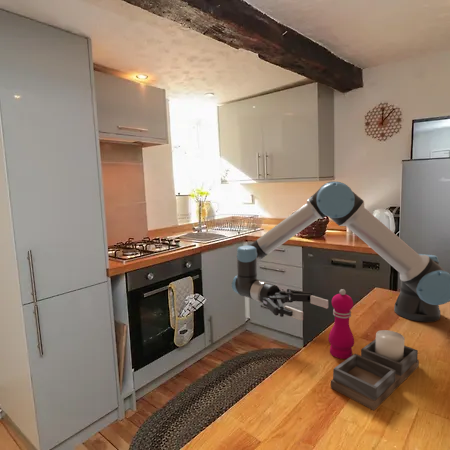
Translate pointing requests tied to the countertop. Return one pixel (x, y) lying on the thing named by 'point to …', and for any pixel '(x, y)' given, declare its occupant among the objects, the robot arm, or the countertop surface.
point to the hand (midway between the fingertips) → (315, 310)
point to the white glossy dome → (390, 345)
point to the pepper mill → (341, 326)
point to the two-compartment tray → (372, 375)
